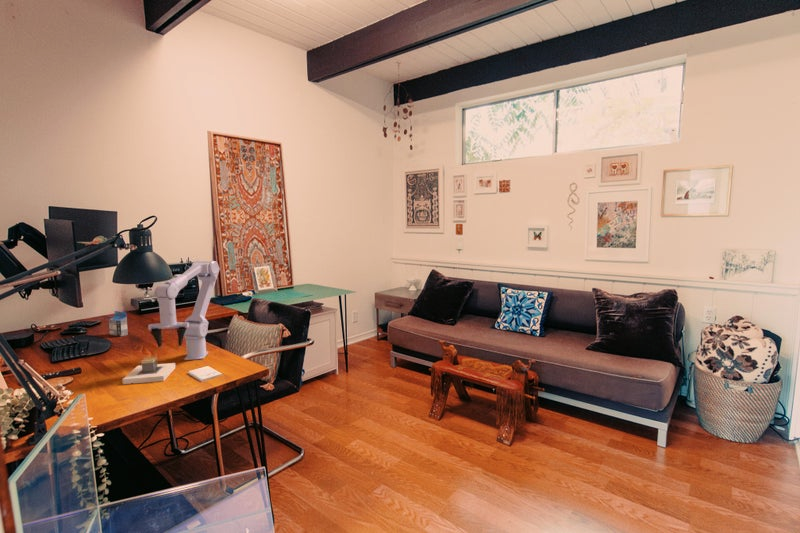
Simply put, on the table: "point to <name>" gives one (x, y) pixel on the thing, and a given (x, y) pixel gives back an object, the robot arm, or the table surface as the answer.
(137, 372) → the socket
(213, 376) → the external hard drive
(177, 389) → the table surface
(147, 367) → the plug
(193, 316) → the robot arm
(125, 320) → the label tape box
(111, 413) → the table surface
